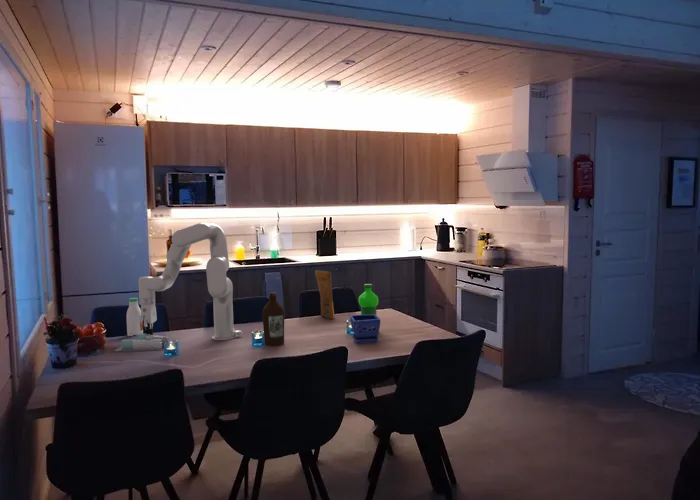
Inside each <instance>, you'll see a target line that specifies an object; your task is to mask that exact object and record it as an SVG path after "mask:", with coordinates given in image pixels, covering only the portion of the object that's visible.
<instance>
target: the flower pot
mask: <svg viewBox="0 0 700 500" xmlns="http://www.w3.org/2000/svg"><path fill="white" fill-rule="evenodd" d="M349 321H350V327H351V329H352V332H353V334H351V337H352V338H353V340H354V341H355V343H356V344H359V345H360V344H362V345H363V344H374V343H378V341H379V340H380V339H379V337H378V335H379V332H380V329H381V319H380V317H379V316H378V315H377V314H376V315H375V314H365V315H361V314H352V315H350V316H349Z"/></svg>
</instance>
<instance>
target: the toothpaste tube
mask: <svg viewBox="0 0 700 500" xmlns="http://www.w3.org/2000/svg"><path fill="white" fill-rule="evenodd" d="M163 337H168V341H169V340H170V336H166V335H165V336H164V335H157V334H156V335H155V334H153V335H150V334H146V333H144V332H143V333H142V334H138V335H137V340H143V339H162V342H163ZM163 346H164V342H163Z"/></svg>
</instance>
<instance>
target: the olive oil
mask: <svg viewBox="0 0 700 500" xmlns="http://www.w3.org/2000/svg"><path fill="white" fill-rule="evenodd" d="M268 297H269V299H268V300H269V301H267V303H266V304H265V305H264V307H263V308H262V312H261V316H262V327H263V339H264V345H265V346H266V347H278V346H283V345H285V308H284V306H282V305H281V304H280V302H279V301H278V300H277V292H275V291H274V292H269V296H268Z"/></svg>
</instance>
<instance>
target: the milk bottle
mask: <svg viewBox="0 0 700 500" xmlns="http://www.w3.org/2000/svg"><path fill="white" fill-rule="evenodd" d="M128 303H129V305H128V308H127V311H126V333H127V334H126V335H127V336H128V337H129V336H132V337H134V336H133V335H136V336H138V334H142V333H143V334H144V324H142V322H141V307H140V306H139V298H138V297H130V298H128Z"/></svg>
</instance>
